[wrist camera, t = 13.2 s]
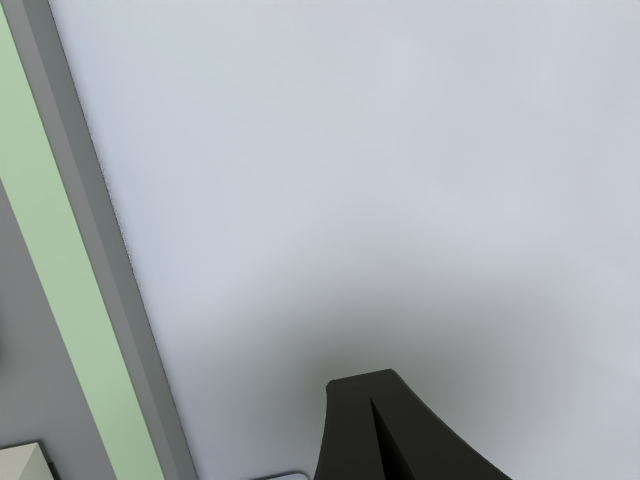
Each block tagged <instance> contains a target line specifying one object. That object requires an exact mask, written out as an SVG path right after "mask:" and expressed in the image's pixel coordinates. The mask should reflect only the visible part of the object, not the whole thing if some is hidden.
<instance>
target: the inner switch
mask: <svg viewBox="0 0 640 480" xmlns="http://www.w3.org/2000/svg"><path fill="white" fill-rule="evenodd" d="M0 480H54V478H53V476H52V474H51V472H50V470H49V467H48V465H47V463H46V461H45V458H44V456H43V454H42V452H41V449H40V447H39V445H38V443H32V444H27V445H22V446H18V447H13V448H8V449H3V450H0Z"/></svg>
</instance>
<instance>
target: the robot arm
mask: <svg viewBox="0 0 640 480" xmlns="http://www.w3.org/2000/svg"><path fill="white" fill-rule="evenodd" d="M326 392H327V410H326V420H325V428H324V434H323V439H322V445H321V450H320V455H319V460H318V464H317V468H316V472H315V476H314V480H512V479H511V478H510V477H508V476H507V475H505V474H504V473H503V472H502V471H500V470H499V469H498V468H496V467H495V466H494V465H492V464H491V463H490V462H489V461H488V460H486V459H485V458H484V457H483V456H481V455H480V454H479V453H478V452H477V451H475V450H474V449H473V448H472V447H471V446H469V445H468V444H467V443H466V442H465V441H464V440H462V439H461V438H460V437H459V436H458V435H457V434H456V433H455V432H454V431H453V430H451V429H450V428H449V427H448V426H447V425H446V424H445V423H444V422H443V421H442V420H441V419H440V418H438V417H437V416H436V415H435V414H434V413H433V412H432V411H431V410H430V409H429V408H428V407H427V406H426V405H425V404H424V403H423V402H422V401H421V400H420V398H419V397H418V396H417V395H416V394H415V393H414V392H413V391H412V390H411V389H410V388H409V387H408V385H407V384H406V383H405V382H404V381H403V380H402V379H401V377H400V376H399V375H398V374H397V372H395V371H394V370H392V369H386V370H381V371H376V372H371V373H366V374H361V375H356V376H351V377H346V378H342V379H337V380H332V381H330V382H329V383H328V385H327V386H326ZM268 480H308V479H307V477H306V476H305V475H303V474H291V475H287V476H282V477H277V478H272V479H268Z"/></svg>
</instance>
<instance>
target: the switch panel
mask: <svg viewBox="0 0 640 480" xmlns="http://www.w3.org/2000/svg"><path fill="white" fill-rule="evenodd" d="M32 443H38V445H39V447H40V449H41V452H42V454H43V456H44V458H45V461H46V463H47V465H48V467H49V470H50V472H51V474H52V476H53V478H54V480H198V478H197V475H196V472H195V468H194V465H193V462H192V459H191V456H190V452H189V449H188V446H187V443H186V440H185V437H184V433H183V430H182V427H181V424H180V421H179V417H178V414H177V411H176V408H175V405H174V402H173V398H172V395H171V392H170V389H169V386H168V382H167V379H166V376H165V373H164V370H163V366H162V363H161V360H160V357H159V354H158V351H157V347H156V344H155V341H154V338H153V335H152V331H151V328H150V325H149V322H148V319H147V316H146V312H145V309H144V306H143V303H142V300H141V296H140V293H139V290H138V287H137V284H136V281H135V277H134V274H133V271H132V268H131V265H130V261H129V258H128V255H127V252H126V249H125V246H124V242H123V239H122V236H121V233H120V230H119V226H118V223H117V220H116V217H115V214H114V210H113V207H112V204H111V201H110V198H109V195H108V191H107V188H106V185H105V182H104V179H103V175H102V172H101V169H100V166H99V163H98V160H97V156H96V153H95V150H94V147H93V144H92V140H91V137H90V134H89V131H88V128H87V125H86V121H85V118H84V115H83V112H82V109H81V105H80V102H79V99H78V96H77V93H76V90H75V86H74V83H73V80H72V77H71V74H70V70H69V67H68V64H67V61H66V58H65V55H64V51H63V48H62V45H61V42H60V39H59V35H58V32H57V29H56V26H55V23H54V19H53V16H52V13H51V10H50V7H49V4H48V0H0V450H3V449H8V448H13V447H18V446H22V445H27V444H32Z"/></svg>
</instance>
